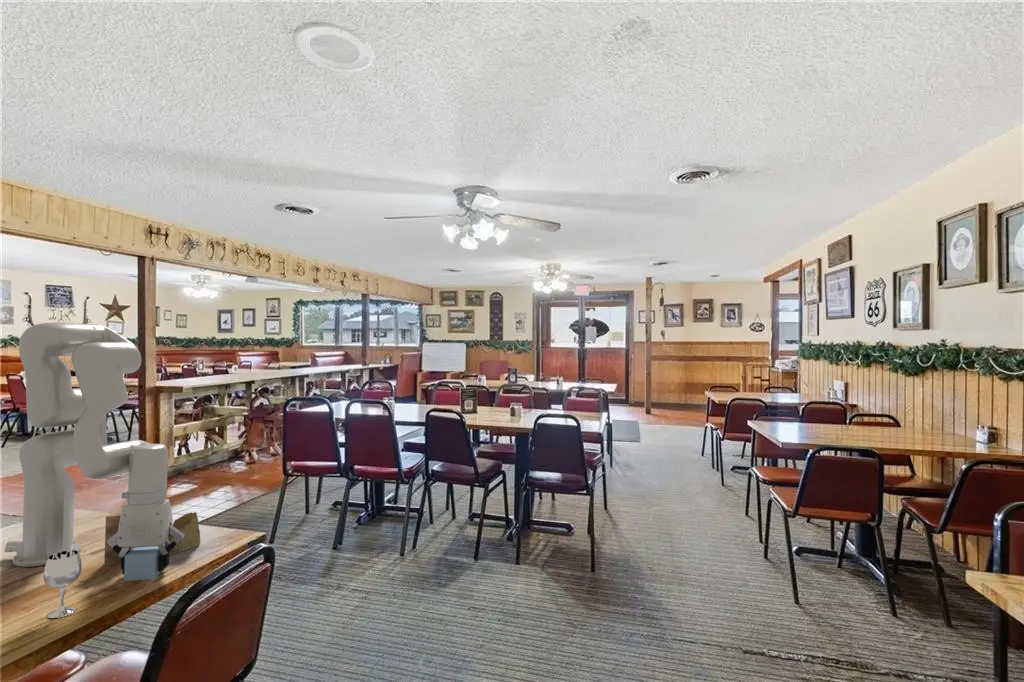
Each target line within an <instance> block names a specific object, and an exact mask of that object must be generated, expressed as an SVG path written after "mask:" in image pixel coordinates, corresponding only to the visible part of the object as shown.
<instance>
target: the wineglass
mask: <svg viewBox="0 0 1024 682" xmlns="http://www.w3.org/2000/svg"><path fill="white" fill-rule="evenodd" d="M82 567H83V566H82V559H81V556H80V551H79V552H78V551H76V550H68V551H62V552H58V553H55V554H53V555H51V556H49V557H48V560H47V563H46V565H44V569H43V571H44V572H43V580H44V583H45V584H46V586H48V587H51V588H59V590H58V592H59V593H58V594H59V599H60V603H59V605H60V606H59V608H57V609H55V610H53V611H50V612H49V613H48V614H47V615H48V617H49V618H55V617H57V618H58V617H63V616H66V617H68V616H71V615H72V614H74V613H75V612H76V611H77V608H76V607H74V606H66V607H65V606H64V597H65V594H66V592H67V591H66V586H69V585H71V584H72V583H74V582H76V581H77V579H78V578H79V577H80V575H81V573H82V569H83V568H82ZM73 612H74V613H73ZM70 614H71V615H70ZM67 615H68V616H67ZM63 618H64V617H63Z"/></svg>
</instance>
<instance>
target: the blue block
mask: <svg viewBox="0 0 1024 682" xmlns="http://www.w3.org/2000/svg"><path fill="white" fill-rule="evenodd" d="M160 554H161V552H160V550H159V548H158V546H152V547H135V548H134V549H133V550H131V551H130V552H129V553H128V554H126V555H125V566H124V574H123V575H124V576H123V581H124V582H129V581H141V580H154V579H155V578H156V577H157V576H158V575H159V574H161V572H159V571H158V565H159V555H160Z"/></svg>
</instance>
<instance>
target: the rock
mask: <svg viewBox="0 0 1024 682" xmlns="http://www.w3.org/2000/svg"><path fill="white" fill-rule="evenodd" d="M198 517H199V516H198V513H197V511H195V512H188V513H185V514H183V515H182V516H180V517H178V518H177V519H175V520H174V521H173V526H174V527H175V528H176V529H178V530H179V531H180V532H182V533H183V534H184V535H185V536H184V537H183V538H182V539H181V541H180V542H179V543H178V544H177V545H176V546H175V547H173V548H172V549H171V550H170V555H172V554H171V553H173V554H175V553H174V552H176V553H178V552H177V551H179V552H181V551H180V550H183V549H186V548H189V547H192V548H194V547H193V546H195V547H197V546H196V545H198V546H200V545H201V531H200V526H199V524H200V523H199V518H198ZM174 539H175V538H174V537H173V536H172V537H171V538H169V539H168V540H169V542H170V543H171V542H172V541H173V540H174ZM199 544H200V545H199ZM189 549H190V548H189ZM186 550H187V549H186ZM183 551H184V550H183Z"/></svg>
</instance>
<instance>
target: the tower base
mask: <svg viewBox="0 0 1024 682" xmlns="http://www.w3.org/2000/svg"><path fill="white" fill-rule="evenodd" d="M133 549H134V548H132V549H131V550H133ZM118 563H121V557H119V554H118V553H117V552H115V551H114V550H113V548H112V547H111V546H110V545H109V544H108V543H107V540H105V539H104V564H105V565H117V564H118ZM118 565H119V564H118Z"/></svg>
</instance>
